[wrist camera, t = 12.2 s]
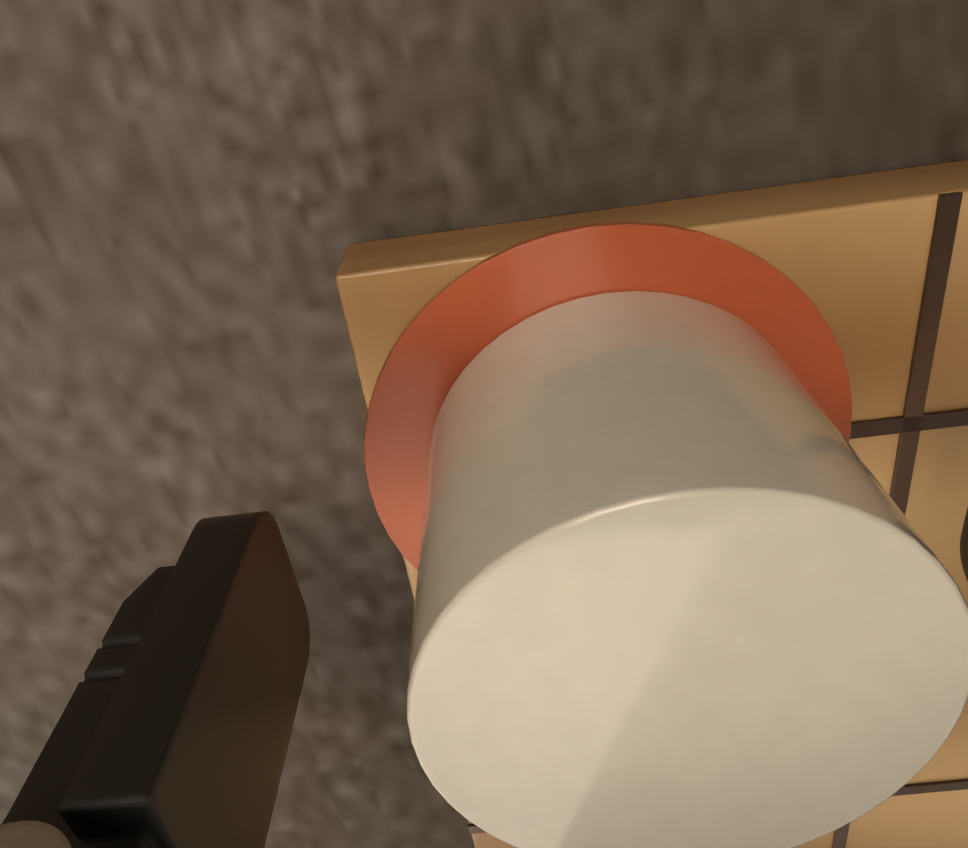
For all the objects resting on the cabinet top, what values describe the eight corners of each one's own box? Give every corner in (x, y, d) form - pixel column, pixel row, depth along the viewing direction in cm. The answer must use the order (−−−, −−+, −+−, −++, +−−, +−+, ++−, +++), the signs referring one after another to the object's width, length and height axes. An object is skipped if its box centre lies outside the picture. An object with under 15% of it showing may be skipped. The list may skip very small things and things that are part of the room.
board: (329, 230, 10) (310, 264, 9) (1508, 67, 9) (1652, 81, 8) (479, 855, 17) (480, 917, 16) (1146, 796, 16) (1196, 857, 15)
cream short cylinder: (394, 319, 9) (348, 532, 6) (823, 262, 9) (1039, 452, 6) (458, 621, 12) (453, 893, 8) (793, 585, 12) (929, 852, 8)
